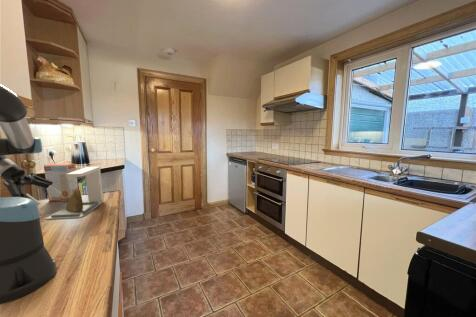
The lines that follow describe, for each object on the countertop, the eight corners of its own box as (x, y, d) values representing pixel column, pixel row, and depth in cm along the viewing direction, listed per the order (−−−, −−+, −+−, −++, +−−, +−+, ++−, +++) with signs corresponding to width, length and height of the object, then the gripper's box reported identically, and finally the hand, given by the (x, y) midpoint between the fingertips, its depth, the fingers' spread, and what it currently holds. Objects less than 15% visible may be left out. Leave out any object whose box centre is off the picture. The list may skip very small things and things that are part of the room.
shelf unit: (81, 217, 95) (75, 175, 91) (44, 219, 93) (38, 176, 90) (104, 201, 115) (100, 166, 112) (75, 202, 113) (70, 167, 110)
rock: (88, 206, 100) (90, 197, 108) (73, 195, 96) (76, 187, 104) (68, 222, 98) (72, 212, 106) (51, 212, 93) (56, 202, 102)
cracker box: (80, 198, 120) (75, 163, 117) (71, 202, 114) (66, 165, 111) (58, 197, 122) (53, 162, 118) (48, 201, 116) (42, 164, 112)
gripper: (27, 170, 108) (62, 196, 112) (-27, 183, 84) (21, 216, 88) (36, 160, 108) (71, 187, 112) (-15, 170, 83) (32, 204, 88)
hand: (49, 200), depth 100 cm, fingers open, 13 cm apart
